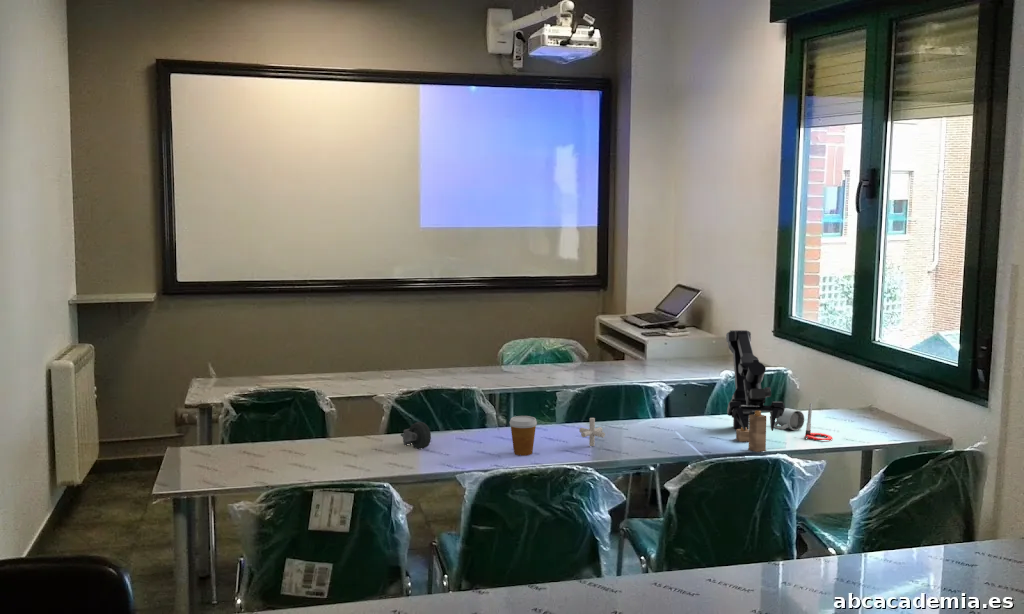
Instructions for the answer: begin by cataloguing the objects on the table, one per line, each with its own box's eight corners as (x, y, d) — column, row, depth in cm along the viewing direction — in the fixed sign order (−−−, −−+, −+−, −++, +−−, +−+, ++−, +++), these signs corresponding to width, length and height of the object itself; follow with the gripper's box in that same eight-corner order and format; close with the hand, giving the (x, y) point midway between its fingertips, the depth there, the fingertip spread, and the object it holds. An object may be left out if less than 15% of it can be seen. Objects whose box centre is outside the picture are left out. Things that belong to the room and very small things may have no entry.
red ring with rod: (833, 438, 323) (806, 434, 327) (836, 403, 321) (809, 400, 325) (831, 443, 315) (803, 439, 319) (834, 408, 313) (807, 405, 317)
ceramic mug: (788, 424, 341) (789, 405, 340) (804, 429, 333) (805, 409, 333) (767, 428, 336) (768, 408, 335) (783, 433, 329) (783, 412, 328)
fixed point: (736, 438, 318) (736, 426, 317) (746, 438, 318) (747, 426, 317) (740, 441, 314) (740, 429, 313) (751, 441, 314) (751, 428, 313)
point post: (748, 449, 304) (749, 410, 303) (757, 447, 306) (758, 409, 304) (756, 451, 300) (757, 412, 299) (765, 450, 302) (766, 411, 301)
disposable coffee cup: (505, 451, 304) (504, 417, 303) (530, 448, 308) (530, 414, 307) (516, 458, 296) (516, 423, 294) (541, 455, 299) (541, 420, 298)
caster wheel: (433, 451, 308) (407, 439, 318) (434, 425, 306) (409, 413, 317) (420, 454, 304) (394, 442, 315) (421, 427, 302) (396, 416, 313)
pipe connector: (571, 446, 310) (572, 418, 309) (589, 441, 317) (589, 413, 316) (594, 451, 303) (594, 423, 302) (611, 446, 310) (612, 418, 309)
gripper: (729, 378, 305) (734, 417, 295) (784, 378, 303) (791, 418, 294) (725, 395, 313) (729, 434, 304) (778, 396, 312) (784, 435, 302)
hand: (758, 429), depth 301 cm, fingers open, 9 cm apart
